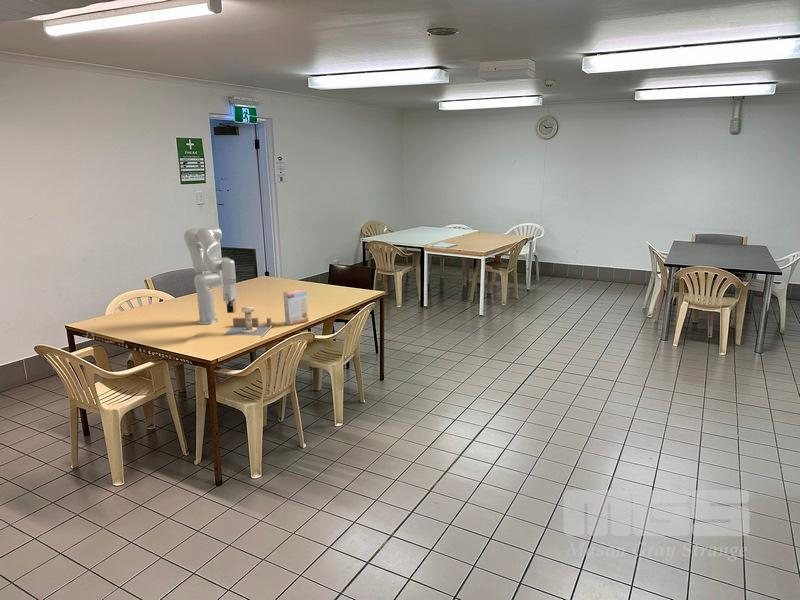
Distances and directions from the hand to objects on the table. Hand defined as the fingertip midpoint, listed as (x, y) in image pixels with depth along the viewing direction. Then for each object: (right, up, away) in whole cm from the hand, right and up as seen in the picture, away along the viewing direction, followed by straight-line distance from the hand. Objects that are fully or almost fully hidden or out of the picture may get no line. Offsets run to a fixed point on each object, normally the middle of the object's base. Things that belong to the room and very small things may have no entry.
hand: (231, 310), depth 319 cm
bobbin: (+10, -12, +3) cm, 16 cm away
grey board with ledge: (+8, -13, +6) cm, 17 cm away
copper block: (0, -1, 0) cm, 1 cm away
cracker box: (+34, -8, +26) cm, 43 cm away
